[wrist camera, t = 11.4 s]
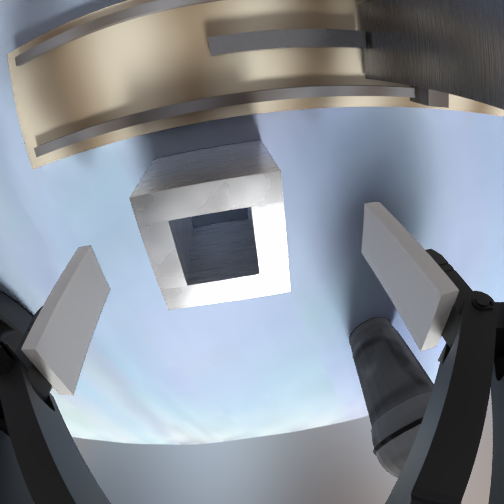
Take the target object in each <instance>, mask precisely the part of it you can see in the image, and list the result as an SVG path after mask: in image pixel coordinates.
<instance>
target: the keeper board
mask: <svg viewBox="0 0 504 504" xmlns="http://www.w3.org/2000/svg"><path fill="white" fill-rule="evenodd" d="M365 1H368V0H127V1H123V2H120V3H117V4H114V5H111V6H108V7H105V8H103V9H100V10H97V11H95V12H92V13H89V14H87V15H84V16H82V17H79V18H77V19H75V20H72V21H70V22H68V23H65V24H63V25H61V26H59V27H57V28H55V29H53V30H51V31H48V32H46V33H44V34H42V35H41V36H39V37H37V38H35V39H33V40H31V41H29V42H27V43H26V44H24V45H22V46H20V47H19V48H17V49H15V50H13V51H12V52H10V53H8V54H7V57H8V65H9V71H10V78H11V84H12V89H13V95H14V100H15V105H16V109H17V114H18V118H19V122H20V126H21V130H22V134H23V138H24V142H25V145H26V149H27V152H28V156H29V159H30V163H31V166H32V169H35V168H38V167H40V166H43V165H46V164H48V163H51V162H54V161H57V160H59V159H62V158H65V157H68V156H71V155H74V154H77V153H80V152H83V151H87V150H90V149H93V148H96V147H100V146H103V145H106V144H110V143H113V142H117V141H121V140H124V139H128V138H132V137H136V136H140V135H144V134H148V133H152V132H157V131H161V130H166V129H170V128H175V127H180V126H185V125H190V124H195V123H200V122H206V121H212V120H218V119H224V118H230V117H237V116H244V115H252V114H259V113H268V112H277V111H288V110H299V109H313V108H330V107H364V106H385V107H418V108H434V109H447V110H458V111H467V112H476V113H483V114H490V115H497V116H503V117H504V110H503V109H500V108H497V107H494V106H491V105H488V104H484V103H481V102H478V101H474V100H471V99H467V98H463V97H460V96H456V95H452V94H448V93H444V92H439V91H435V90H430V89H426V88H421V87H416V86H410V85H405V84H399V83H393V82H386V81H379V80H372V79H365V65H364V53H363V48H362V49H357V48H288V49H272V50H260V51H250V52H241V53H233V54H226V55H219V56H212V57H211V55H210V48H209V41H208V37H213V36H220V35H227V34H235V33H244V32H254V31H266V30H283V29H340V30H357V31H361V24H360V16H359V9H358V4H360V3H362V2H365Z"/></svg>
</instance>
